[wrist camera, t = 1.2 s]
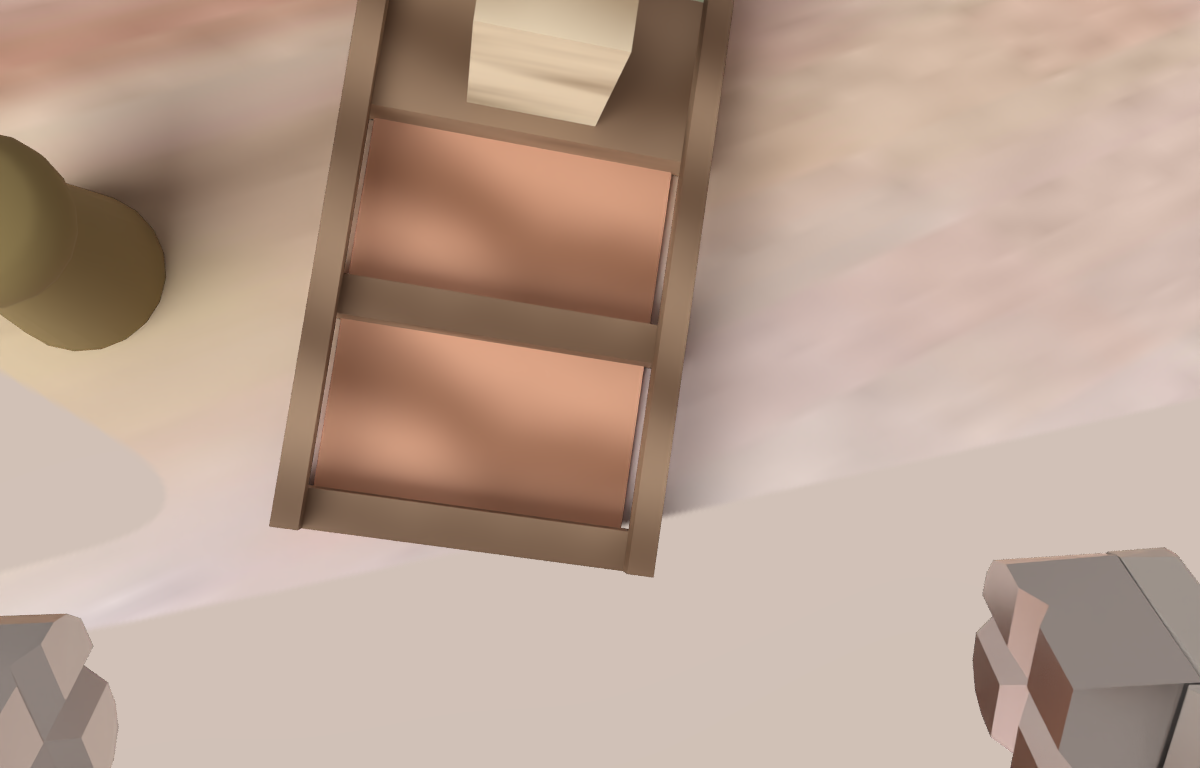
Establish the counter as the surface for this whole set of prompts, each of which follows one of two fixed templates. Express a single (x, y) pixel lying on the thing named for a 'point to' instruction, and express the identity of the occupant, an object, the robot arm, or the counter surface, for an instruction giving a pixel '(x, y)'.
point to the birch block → (550, 55)
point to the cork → (71, 257)
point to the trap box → (501, 296)
